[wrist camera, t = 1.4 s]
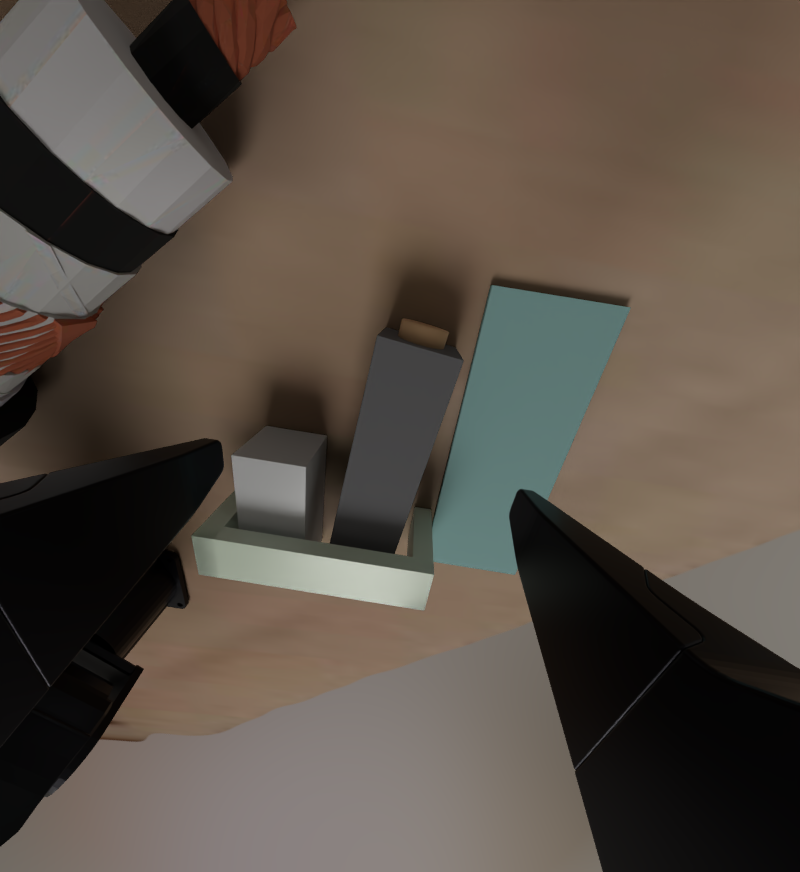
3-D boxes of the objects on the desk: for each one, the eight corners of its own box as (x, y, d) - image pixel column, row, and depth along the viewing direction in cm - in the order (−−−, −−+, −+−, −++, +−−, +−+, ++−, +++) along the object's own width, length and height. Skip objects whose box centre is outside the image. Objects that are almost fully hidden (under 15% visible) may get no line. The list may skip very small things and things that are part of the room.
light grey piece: (423, 540, 23) (424, 610, 18) (247, 512, 23) (198, 574, 18) (431, 509, 22) (433, 574, 17) (245, 479, 22) (191, 535, 17)
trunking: (322, 539, 24) (303, 584, 20) (270, 531, 24) (243, 574, 20) (327, 435, 20) (305, 467, 16) (266, 425, 20) (231, 455, 16)
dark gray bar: (384, 555, 24) (377, 601, 21) (335, 543, 24) (319, 587, 21) (459, 332, 17) (470, 342, 13) (390, 311, 17) (381, 316, 13)
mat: (513, 570, 24) (514, 574, 23) (424, 556, 24) (424, 560, 23) (625, 307, 16) (630, 307, 15) (490, 285, 16) (492, 285, 15)
